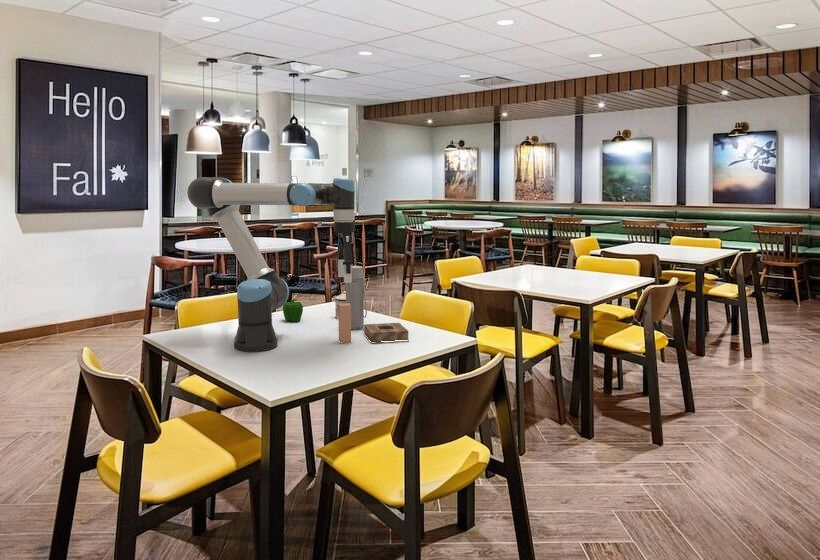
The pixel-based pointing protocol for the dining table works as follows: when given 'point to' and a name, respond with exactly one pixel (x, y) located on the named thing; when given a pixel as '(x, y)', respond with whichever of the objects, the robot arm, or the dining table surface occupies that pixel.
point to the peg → (344, 322)
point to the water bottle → (356, 297)
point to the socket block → (385, 332)
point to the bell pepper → (292, 310)
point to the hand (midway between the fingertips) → (344, 279)
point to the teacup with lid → (339, 302)
